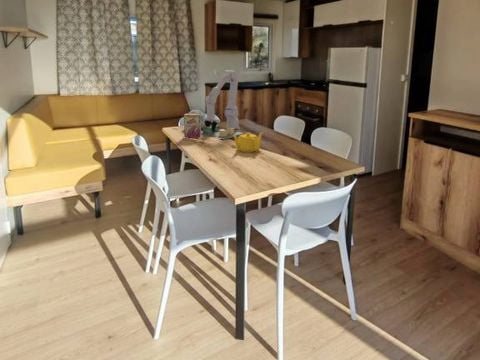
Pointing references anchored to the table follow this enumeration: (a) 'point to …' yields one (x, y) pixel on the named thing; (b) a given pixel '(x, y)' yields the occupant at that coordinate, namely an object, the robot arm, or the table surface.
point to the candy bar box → (192, 125)
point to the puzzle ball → (201, 116)
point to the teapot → (248, 142)
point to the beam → (210, 129)
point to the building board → (223, 134)
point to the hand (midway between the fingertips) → (211, 131)
